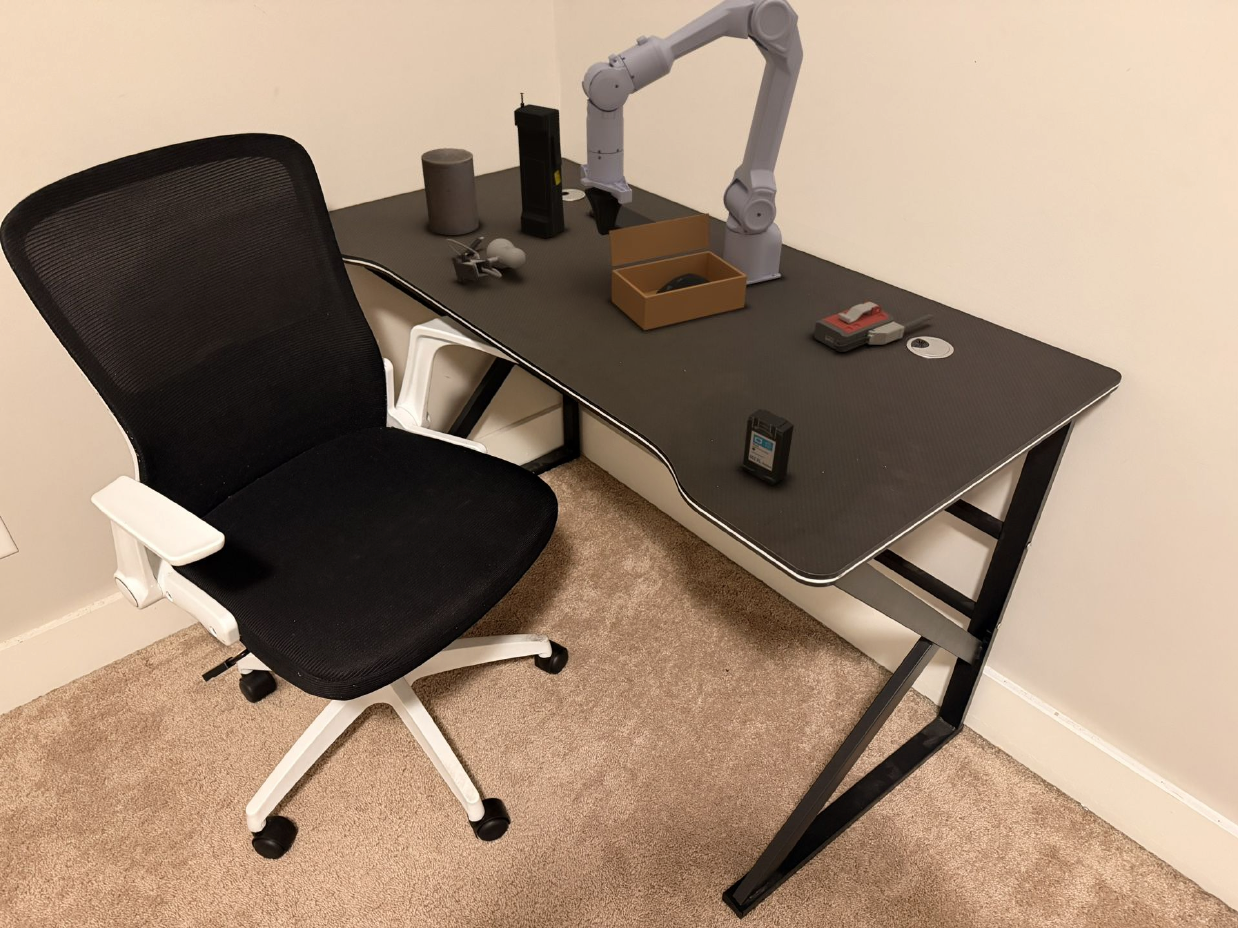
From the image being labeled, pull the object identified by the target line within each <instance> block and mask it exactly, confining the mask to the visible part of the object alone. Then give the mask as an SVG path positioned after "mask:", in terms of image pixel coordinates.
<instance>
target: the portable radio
mask: <svg viewBox="0 0 1238 928" xmlns="http://www.w3.org/2000/svg"><path fill="white" fill-rule="evenodd" d="M519 94H520V100H521V102H520V105H519V106H520V107H517V108H516V109H514V111H513V117H514V118H513V119H514V126H515V127H516V128H517V144H518V160H519V161H518V162H519V178H520V197H521V198H520V199H521V214H520V229H521V232H522V233H524V234H529V235H531V236H535V237H540V238H543V239H549V238H551V237H554V236H556V235H558V234H560V233H561V232H563V231H565V229H566V228H565V227H566V225H565V214H564V196H563V194H564V193H563V174H562V166H563V160H562V158H563V157H562V147H561V124H560V122H561V121H560V110H559V109H558V108H553V107H547V106H542V105H537V104H531V103H529V104H525V103H524V94H525V93H524V92H519Z"/></svg>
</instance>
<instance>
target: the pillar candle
mask: <svg viewBox="0 0 1238 928" xmlns="http://www.w3.org/2000/svg"><path fill="white" fill-rule="evenodd" d="M420 160H421V168H422V176H423V186H424V192H425V199H426V200H425V201H426V209H427V217H428V223H429V226H428V228H429V230H430V231H431V232H433V233H435V234H438V235H442V236H460V235H466V234H469V233H472V232H474V231H476V230H478V228H479V210H478V200H477V190H476V189H477V188H476V177H475V167H474V154H473V153H472V152H471V151H469V150H466V149H464V148H454V147H451V148H450V147H449V148H448V147H443V148H435V149H430V150H428V151H425V152H423V153H422V154H421V157H420Z"/></svg>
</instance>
